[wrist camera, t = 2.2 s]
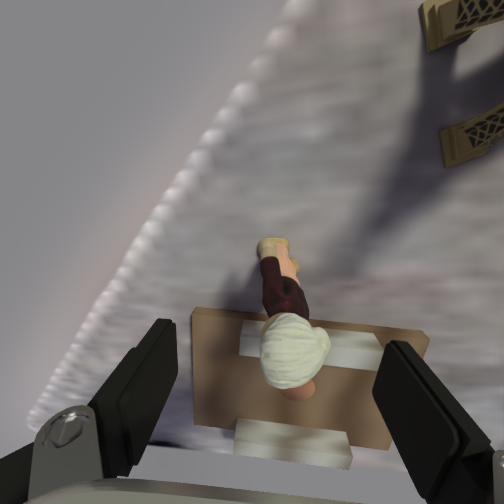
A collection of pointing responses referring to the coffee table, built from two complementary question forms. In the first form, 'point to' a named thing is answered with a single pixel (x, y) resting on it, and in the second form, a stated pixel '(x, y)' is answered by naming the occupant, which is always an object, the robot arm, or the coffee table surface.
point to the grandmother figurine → (287, 321)
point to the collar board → (291, 390)
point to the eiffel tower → (447, 31)
